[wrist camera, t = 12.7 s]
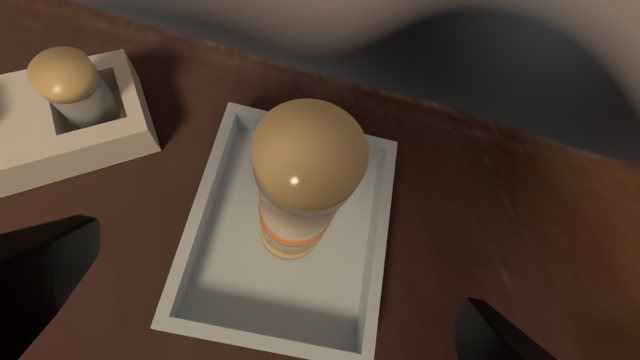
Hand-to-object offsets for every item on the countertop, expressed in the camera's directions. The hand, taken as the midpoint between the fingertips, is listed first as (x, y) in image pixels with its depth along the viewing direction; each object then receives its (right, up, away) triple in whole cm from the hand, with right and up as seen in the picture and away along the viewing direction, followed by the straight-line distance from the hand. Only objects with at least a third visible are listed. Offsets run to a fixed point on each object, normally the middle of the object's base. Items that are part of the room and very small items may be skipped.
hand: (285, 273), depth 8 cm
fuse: (-12, +6, +12) cm, 18 cm away
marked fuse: (-1, 0, +11) cm, 11 cm away
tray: (-1, -1, +11) cm, 12 cm away
